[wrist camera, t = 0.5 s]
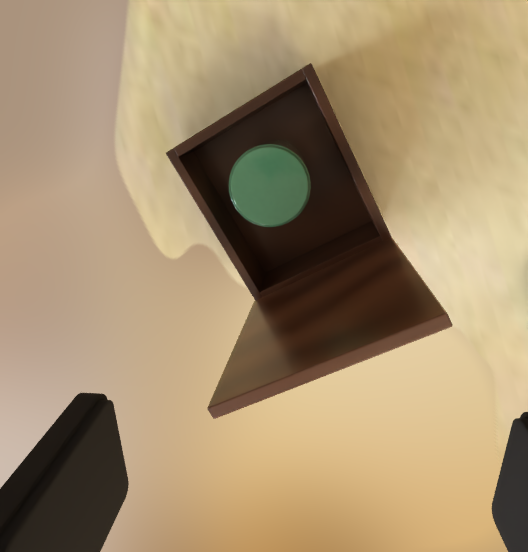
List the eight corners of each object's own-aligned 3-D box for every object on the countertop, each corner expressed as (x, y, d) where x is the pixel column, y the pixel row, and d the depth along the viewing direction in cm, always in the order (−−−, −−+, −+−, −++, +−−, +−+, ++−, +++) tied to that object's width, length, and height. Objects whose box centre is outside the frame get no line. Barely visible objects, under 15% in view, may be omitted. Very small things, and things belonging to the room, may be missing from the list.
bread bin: (184, 146, 39) (165, 153, 34) (310, 69, 36) (310, 62, 30) (262, 278, 44) (256, 302, 39) (381, 222, 40) (392, 239, 35)
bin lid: (206, 408, 23) (213, 419, 23) (447, 312, 19) (453, 326, 19) (253, 301, 38) (258, 308, 38) (391, 236, 34) (395, 245, 35)
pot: (230, 158, 39) (212, 170, 31) (290, 123, 37) (286, 127, 30) (263, 216, 40) (253, 241, 33) (321, 186, 39) (325, 204, 31)
